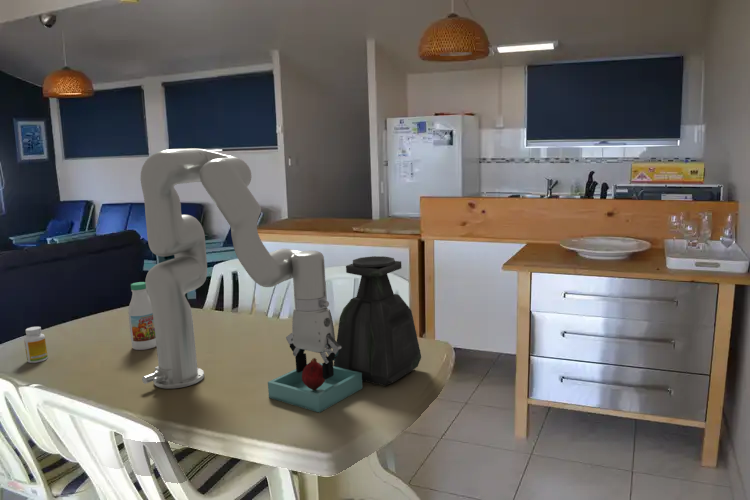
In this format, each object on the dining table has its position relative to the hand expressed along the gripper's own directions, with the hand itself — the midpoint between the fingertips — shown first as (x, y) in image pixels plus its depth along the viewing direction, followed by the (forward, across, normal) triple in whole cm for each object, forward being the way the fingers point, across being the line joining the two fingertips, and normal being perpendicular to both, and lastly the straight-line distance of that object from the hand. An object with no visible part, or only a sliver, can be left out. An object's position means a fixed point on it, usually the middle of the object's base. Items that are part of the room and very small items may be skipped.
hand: (314, 373), depth 149 cm
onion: (+4, 0, 0) cm, 4 cm away
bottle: (+5, -6, -18) cm, 20 cm away
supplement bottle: (+5, +88, +24) cm, 91 cm away
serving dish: (+5, 0, 0) cm, 5 cm away
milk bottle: (+5, +70, 0) cm, 70 cm away
